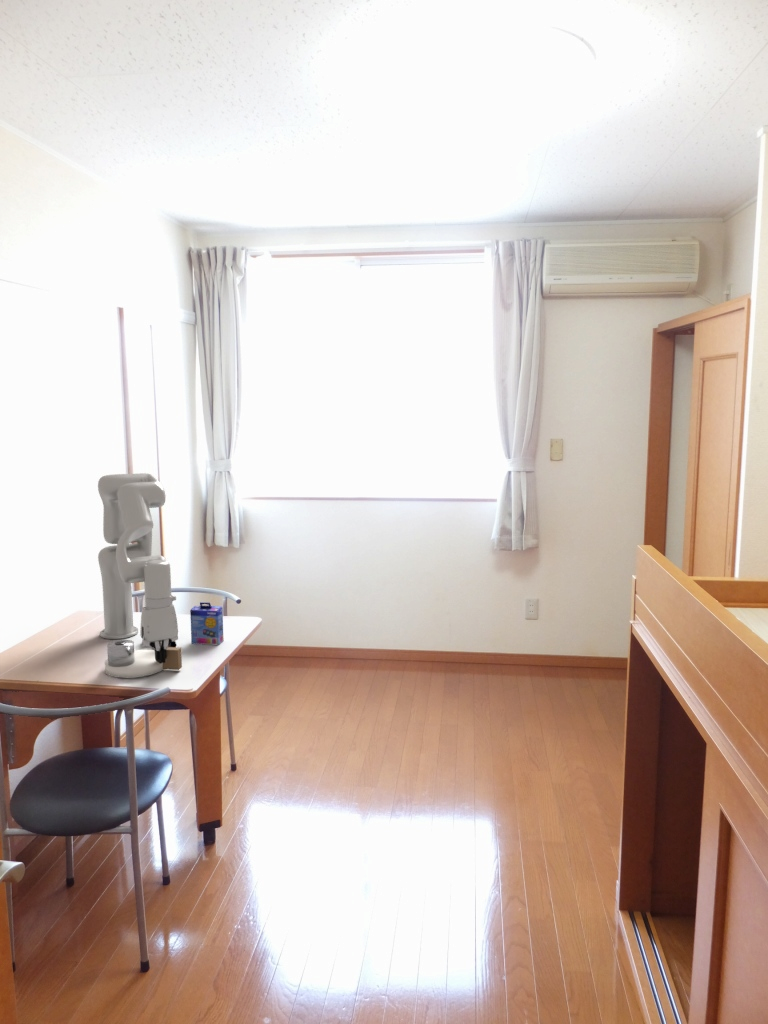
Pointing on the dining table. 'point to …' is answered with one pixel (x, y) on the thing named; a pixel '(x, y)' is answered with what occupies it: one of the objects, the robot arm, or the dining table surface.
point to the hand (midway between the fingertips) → (161, 661)
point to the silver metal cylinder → (120, 653)
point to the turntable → (147, 664)
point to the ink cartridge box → (206, 624)
